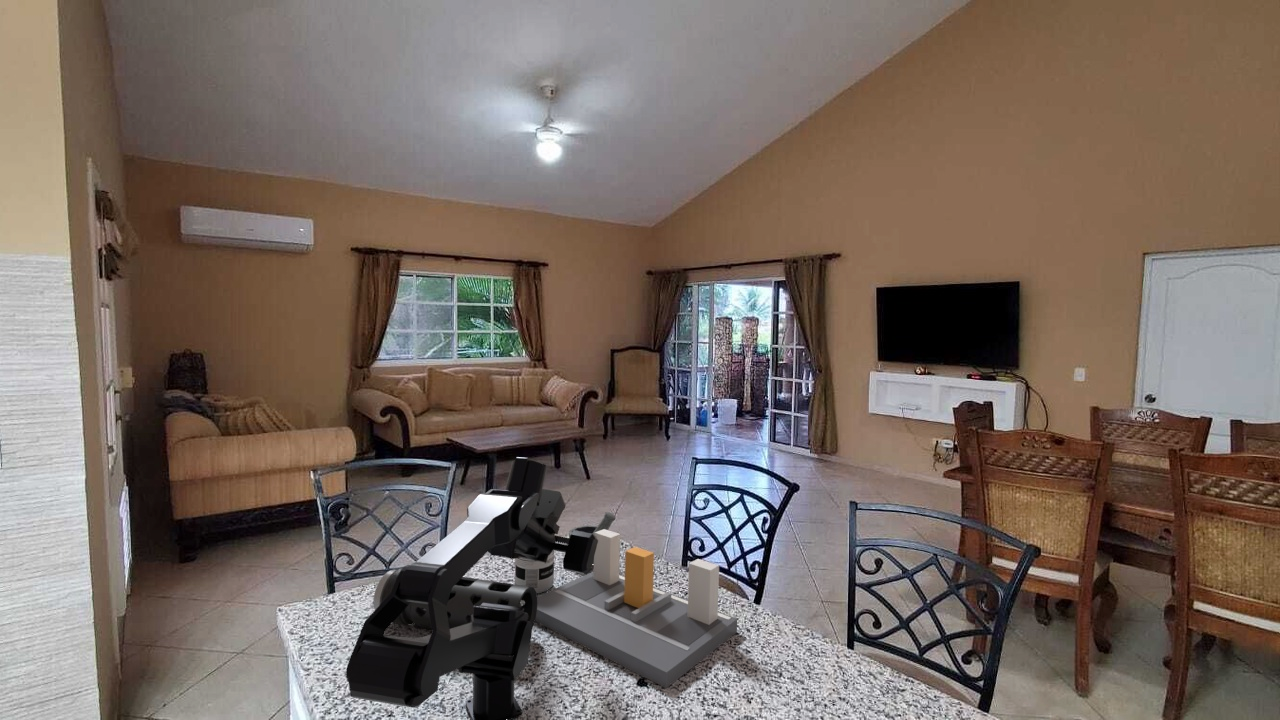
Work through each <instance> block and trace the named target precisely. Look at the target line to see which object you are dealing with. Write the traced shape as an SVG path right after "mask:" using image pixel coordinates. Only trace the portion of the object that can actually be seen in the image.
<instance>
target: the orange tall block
mask: <svg viewBox="0 0 1280 720" xmlns="http://www.w3.org/2000/svg"><path fill="white" fill-rule="evenodd" d="M624 553H625V554H624V560H625V561H624V576H625V591H624V602H625V603H627V604H630V605H632V606H634V607H637V608H640V607H642V606H644V605H645V604H647V603H649V602H651V601H652V600H653V587H654V566H655V565H654V564H655V563H654V562H655V559H654V558H655V552H652V551H650V550H646V549H644V548H643V549H642V548H641V547H638V546H634V547H632V548H629V549H627V550H625V552H624Z"/></svg>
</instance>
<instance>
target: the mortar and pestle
mask: <svg viewBox="0 0 1280 720" xmlns="http://www.w3.org/2000/svg"><path fill="white" fill-rule="evenodd" d="M614 521H616V515H614V513H612V512H610V511H606V512H605V513H604V515H603V518H602V519H601V520H600V522H599V523H598V525H580V526H575V527H574V528H572V529H570V530H568V538H570V535H571V533H572V532H573V531H574V530H576V531H581V532H586V533H592V534H594V533H595V532H597V531H600V530H603V529H606V530H610V527H611V525H612V523H613V522H614ZM592 564H594V559H593V562H592Z"/></svg>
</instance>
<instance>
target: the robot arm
mask: <svg viewBox="0 0 1280 720" xmlns="http://www.w3.org/2000/svg"><path fill="white" fill-rule="evenodd" d="M510 465H511V466H510V470H509V474H508V477H507V478H508V479H507V481H506V486H505V489H495V488H493V489H492V488H491V489H489V490H488V491H487V492H484V493H483V492H482V493H480V494H478V496H476V497H475V498H474V499H473V501H472V502H470V504H469V505H468V507H466V515H467V518H466V519H465V520H464V521H463V522H462V523H461V524H460V525H459V526H457V527H456V528H455V529H454V530H453V531H451V532H450V533H449V534H448V535H446V536H445V537H444V538H443V539H441V540H440V541H439V542H438V543H436V545H434V546H433V547H432V548H431V549H429V550H428V551H427V552H426V553H425V554H423V555H422V556H421V557H420V558H419V559H418V560H416V561H415V562H412V563H410V564H406V565H404V566H403V567H401V568H402V569H401V571H400V572H399V574H398V576H397V579H396V582H395V584H394V587H393V589H392V592H391V594H390V595H389V596H388V597H387V598H386V599H385V600H384V601H383V602H382V603H381V604H380V605H379V607H378V608H377V609H376V610H374V611H373V612H372V613H371V614H369V616H367V618H366V619H365V621H364V622H363V624H362V628H361V630H360V632H359V634H358V635H359V636H358V638H357V640H356V642H355V645H354V648H353V651H352V653H351V654H350V655H351V656H350V658H349V661H348V663H347V666H346V671H345V677H346V681H347V682H348V687H349V688H348V689H349V695H350V697H351V698H353V699H358V700H359V699H360V700H366V701H369V702H377V703H383V704H387V705H396V706H399V707H400V706H401V707H405V708H411V709H414V708H417V707H420V705H422V704H423V703H424V702H425V701H426V700H428V699H429V698H430V697H431V696H433V695H434V694H435V693H436V692H437V691H438V690H439V684H440V679H441V677H443V676H445V675H447V674H450V673H452V672H454V671H456V670H458V672H459V673H461V674H464V673H465V674H472V676H473V677H472V679H473V680H472V698H469V699H467V700H465V707H466V710H467V711H468V714H469V716H470V720H506V719H510V720H512V719H511V718H513V719H516V718H518V717H521V716H522V715H523V710H522V708H521V706H520V704H519V702H518V701H517V699H516V697H515V681H517V679H518V677H519V676H520V674H522V672H523V670H524V669H525V667H526V666H527V665H528V662H529V656H530V648H531V641H532V634H533V628H532V623H531V622H530V621H527V620H528V617H529V616H528V614H527V613H525V612H523V611H524V608H523V607H515V606H507V605H499V604H491V603H482V604H481V605H480V606H474V609H473V614H472V615H471V620H470V623H468V624H465V625H461V626H458V627H455V628H451V629H449V623H448V616H447V610H446V605H447V602H448V599H449V596H450V593H451V590H452V587H453V586H454V585H455V584H456V583H457V582H458V581H459V580H460V579H461V578H462V577H465V575H466V574H467V573H468V572H469V571H470V570H471V569H472V568H473V567H474V566H475V565H476V564H477V563H478V562H479V561H480V560H481V559H482V558H483V557H484V556H485V555H486V554H487V553H489V555H490V556H497V557H501V558H507V559H512V560H515V558H526V559H530V560H535V561H540V562H544V563H546V562H547V559H548V555H550V554H551V553H552V551H553V550H554V552H555V551H557V552H561V553H565V554H564V557H563V561H562V566H563V567H562V568H563V570H565V571H568V572H571V573H574V574H575V573H577V574H581V575H583V576H585V575H587V574H589V573H591V569H592V567H593V565H592V562H593V559H594V555H595V551H596V547H597V543H598V539H597V537H596V536H595V535H594V534H592V533H586V532H581V531H576V530H574V531H573V532H572V533H571V535H570V538H569V537H565V536H560V535H558V534H559V530H560V528H561V526H559V525H558V524H557V523H558V521H559V520H560V518H561V516H562V514H563V511H564V510H565V509H566V504H565V501H564V497H563V495H562V493H561V492H560V491H558V490H553V489H547V488H544V486H545V481H546V475H547V473H548V472H547V471H548V466H547V465H546V464H545V463H541V462H538V461H536V460H532V459H529V458H528V457H519V456H516V458H515V460H512V462H511V464H510ZM410 602H414V603H422V604H428V606H429V613H430V620H431V627H432V631H431V634H428V635H425V636H421V637H418V638H415V637H406V636H405V637H404V636H403V637H402V636H395V635H385V632H386V631H387V630H388V628H389V627H390V626H391V625H392V624H394V623H393V621H394V620H395V619H396V618H397V617H398V616H399V615H400V614H401V613H402V612H403V611H404V609H405V608H406V607H407V606H408V605H409V603H410Z"/></svg>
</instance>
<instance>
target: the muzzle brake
mask: <svg viewBox="0 0 1280 720" xmlns="http://www.w3.org/2000/svg"><path fill="white" fill-rule="evenodd" d="M402 568H403V567H401V568H398V569H391V570H388V571H386V572H385V573H384V574H383V576H382V577H381V579H379V582H378V584H377V586H376V588H375V591H374V595H373V603H372V604H373V610H374V611H375V610H376V609H377V608H378V607H379V605H380V604H381V603H382V602H383V601H384V600H385V599H386V598H387V597H388V596H389V595H390V594H391V592H392V589H393V587H394V584H395V582H396V579H397V576H398V574H399V572H400V571H401V569H402ZM537 596H538V594H536V591H535V589H534V588H533V587H530V586H523V585H516V584H515V583H507V582H502V581H501V582H500V581H495V580H493V581H492V580H487V579H479V578H472V577H466V576H463V577H462V578H461V579H460V580H459V581H458V582H457V583H456V584H455V585H454V586H453V587H452V590H451V593H450V596H449V599H448V602H447V605H446V610H447V616H448V623H449V629H451V628H455V627H458V626H461V625H465V624H468V623H470V620H471V615H472V614H473V609H474V606H480V605H481V604H482V603H491V604H499V605H507V606H515V607H523V608H524V611H523V612H525V613H527V614H528V616H529V617H528V620H527V621H530V622H531V623H532V629H533V628H534V625H535V618H536V613H537ZM521 601H524V602H525V604H524V603H523V604H521ZM392 624H395V625H396V624H397V625H403V626H410V625H414V628H415V629H417V630H424V631H427V632H432V627H431V620H430V613H429V606H428V604H422V603H414V602H410V603H409V605H408V606H407V607H406V608H405V609H404V611H403V612H402V613H401V614H400V615H399V616H398V617H397V618H396V619H395V620H394V621H393V623H392Z"/></svg>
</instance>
